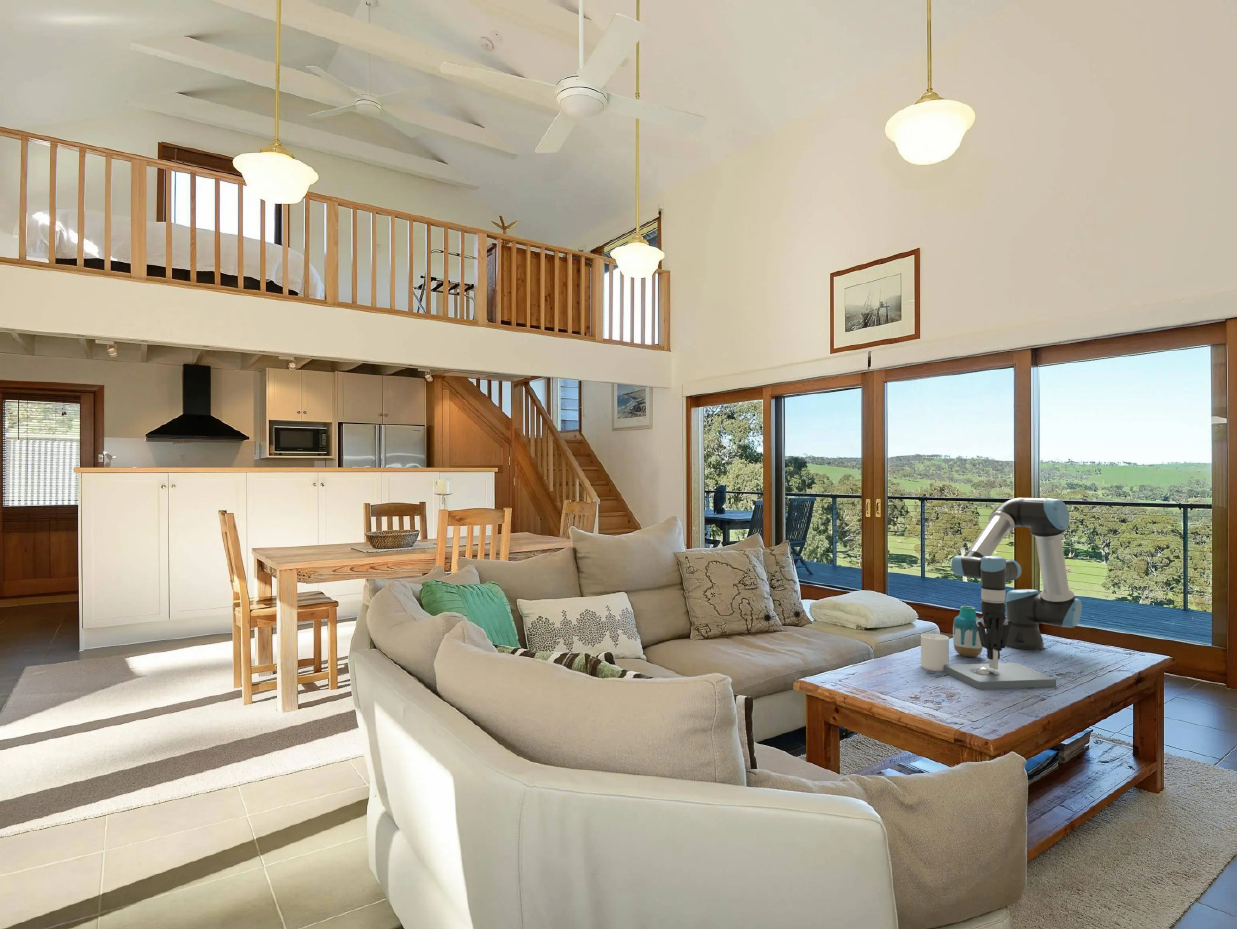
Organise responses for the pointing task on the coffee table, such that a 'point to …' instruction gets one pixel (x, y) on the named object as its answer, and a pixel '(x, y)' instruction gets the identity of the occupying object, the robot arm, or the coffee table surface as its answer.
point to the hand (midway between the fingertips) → (993, 668)
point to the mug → (934, 651)
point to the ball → (983, 671)
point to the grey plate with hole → (1000, 676)
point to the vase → (966, 633)
